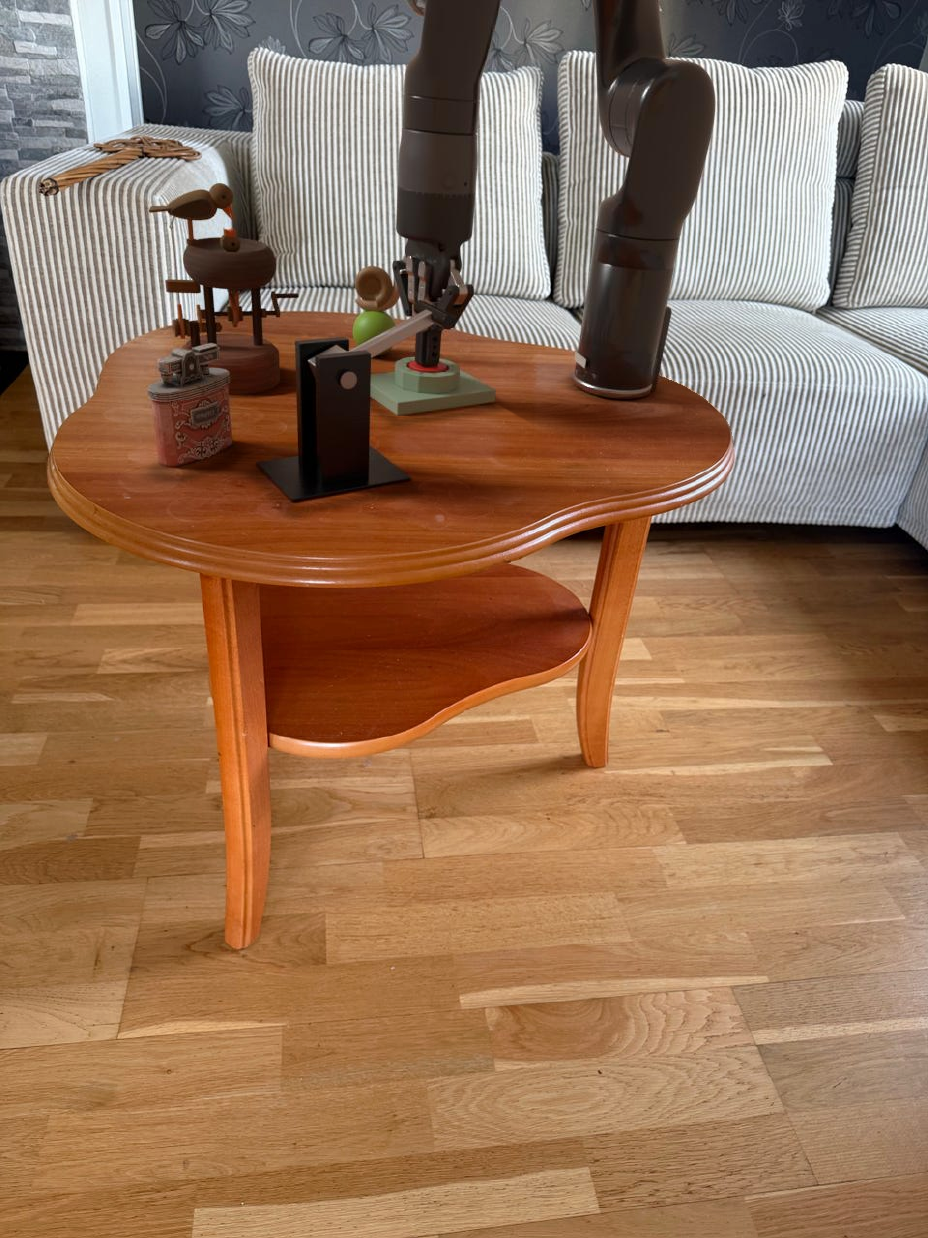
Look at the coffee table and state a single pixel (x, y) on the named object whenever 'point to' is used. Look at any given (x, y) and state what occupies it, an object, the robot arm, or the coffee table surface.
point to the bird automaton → (233, 270)
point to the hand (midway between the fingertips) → (426, 364)
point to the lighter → (191, 407)
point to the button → (433, 369)
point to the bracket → (332, 427)
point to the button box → (428, 389)
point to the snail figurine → (374, 304)
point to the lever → (399, 331)
